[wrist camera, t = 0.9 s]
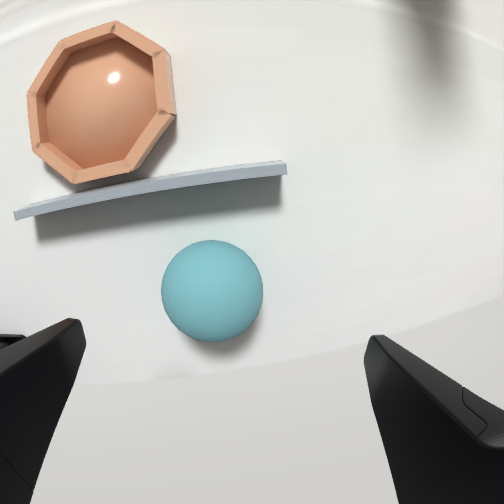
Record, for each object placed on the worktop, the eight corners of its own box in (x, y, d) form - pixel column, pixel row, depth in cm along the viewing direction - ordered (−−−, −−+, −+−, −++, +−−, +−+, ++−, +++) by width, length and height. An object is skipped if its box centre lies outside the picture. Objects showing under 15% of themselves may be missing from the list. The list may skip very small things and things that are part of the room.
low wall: (34, 211, 20) (15, 220, 17) (32, 203, 19) (13, 212, 17) (281, 169, 20) (287, 174, 17) (280, 160, 19) (286, 163, 17)
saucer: (50, 189, 19) (39, 193, 18) (37, 58, 16) (25, 55, 14) (182, 161, 19) (178, 163, 18) (166, 16, 16) (161, 8, 14)
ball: (181, 313, 23) (166, 365, 17) (163, 234, 21) (138, 270, 15) (264, 304, 23) (271, 357, 17) (254, 222, 21) (261, 255, 15)
